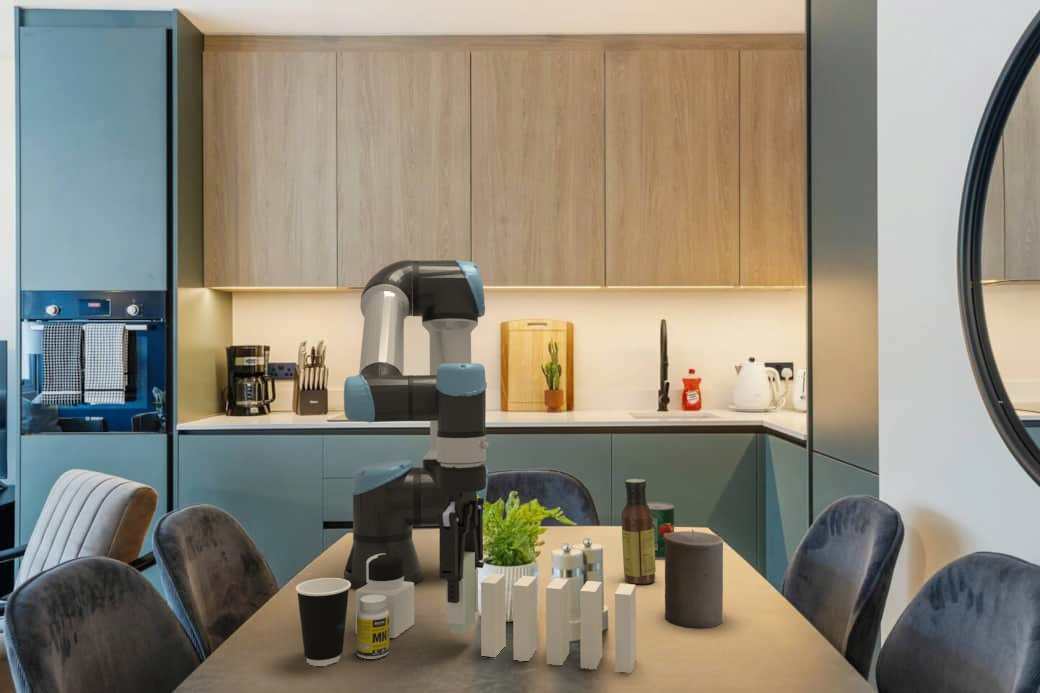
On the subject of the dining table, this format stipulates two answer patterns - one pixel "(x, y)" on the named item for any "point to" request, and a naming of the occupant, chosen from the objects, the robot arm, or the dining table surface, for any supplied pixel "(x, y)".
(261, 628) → the dining table surface
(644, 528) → the sauce bottle
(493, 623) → the domino
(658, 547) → the canned tomato
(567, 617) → the domino
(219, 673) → the dining table surface
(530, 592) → the domino
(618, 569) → the dining table surface
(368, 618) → the supplement bottle
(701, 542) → the pillar candle
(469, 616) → the grey-green tall block
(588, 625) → the domino
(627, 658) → the domino
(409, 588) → the white bottle
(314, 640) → the dixie cup
